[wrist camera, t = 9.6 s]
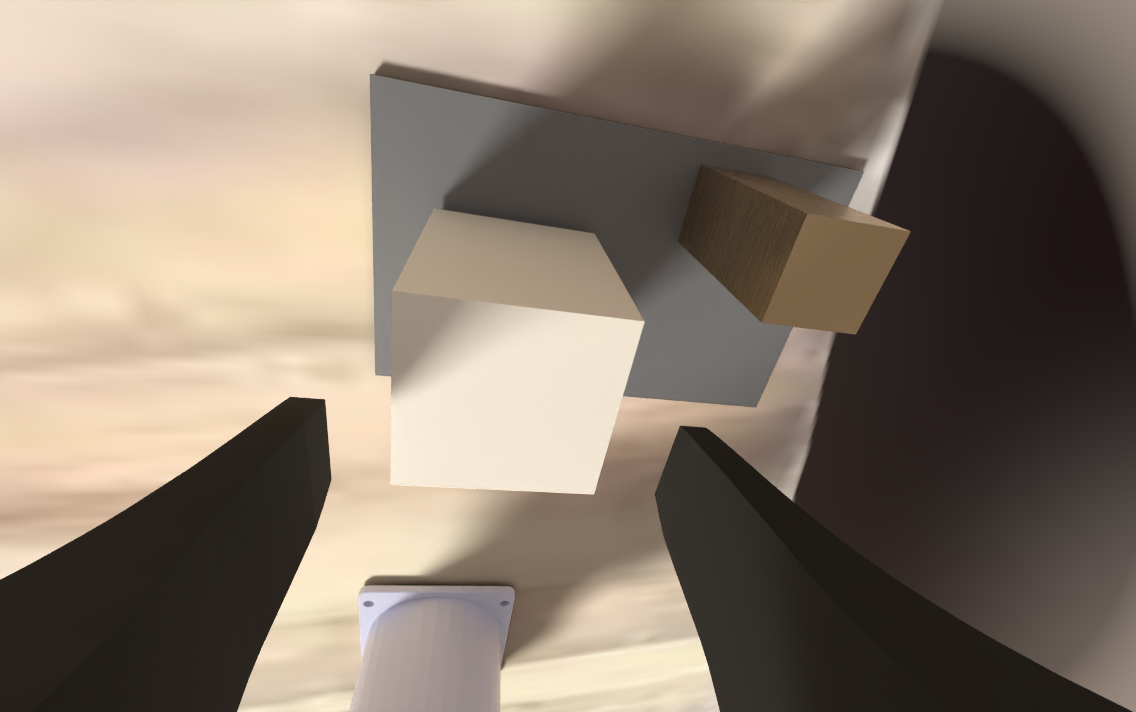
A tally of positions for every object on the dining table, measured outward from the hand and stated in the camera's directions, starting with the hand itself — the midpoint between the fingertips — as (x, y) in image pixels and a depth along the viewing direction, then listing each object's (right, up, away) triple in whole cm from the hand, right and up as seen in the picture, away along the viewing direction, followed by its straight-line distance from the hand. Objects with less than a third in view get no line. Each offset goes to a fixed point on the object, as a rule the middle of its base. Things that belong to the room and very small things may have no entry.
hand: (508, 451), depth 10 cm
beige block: (-1, +4, +7) cm, 8 cm away
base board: (+3, +5, +8) cm, 9 cm away
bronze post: (+7, +7, +7) cm, 12 cm away
